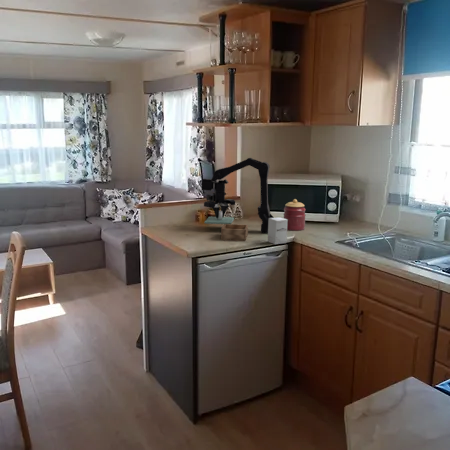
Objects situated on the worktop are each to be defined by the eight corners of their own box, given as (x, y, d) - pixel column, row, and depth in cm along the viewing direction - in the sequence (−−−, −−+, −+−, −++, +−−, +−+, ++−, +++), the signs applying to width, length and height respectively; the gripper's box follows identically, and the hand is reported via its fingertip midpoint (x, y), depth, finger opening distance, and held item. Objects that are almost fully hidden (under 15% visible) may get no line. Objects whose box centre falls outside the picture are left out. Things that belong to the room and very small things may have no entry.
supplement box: (275, 244, 243) (275, 220, 241) (267, 241, 250) (268, 217, 247) (287, 243, 247) (288, 219, 244) (279, 240, 253) (279, 216, 250)
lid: (233, 219, 281) (234, 209, 280) (230, 224, 266) (231, 213, 265) (208, 218, 283) (209, 208, 282) (204, 223, 268) (204, 213, 267)
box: (247, 235, 262) (247, 224, 261) (245, 241, 250) (245, 229, 249) (224, 234, 264) (224, 223, 263) (221, 239, 251) (221, 228, 250)
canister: (305, 226, 287) (306, 197, 283) (304, 231, 275) (306, 201, 271) (283, 225, 289) (284, 197, 286) (282, 230, 277) (283, 200, 273)
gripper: (224, 188, 283) (224, 214, 286) (198, 190, 272) (198, 217, 275) (236, 190, 274) (235, 217, 277) (209, 193, 263) (209, 220, 266)
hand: (219, 217), depth 274 cm, fingers closed on lid, 3 cm apart
